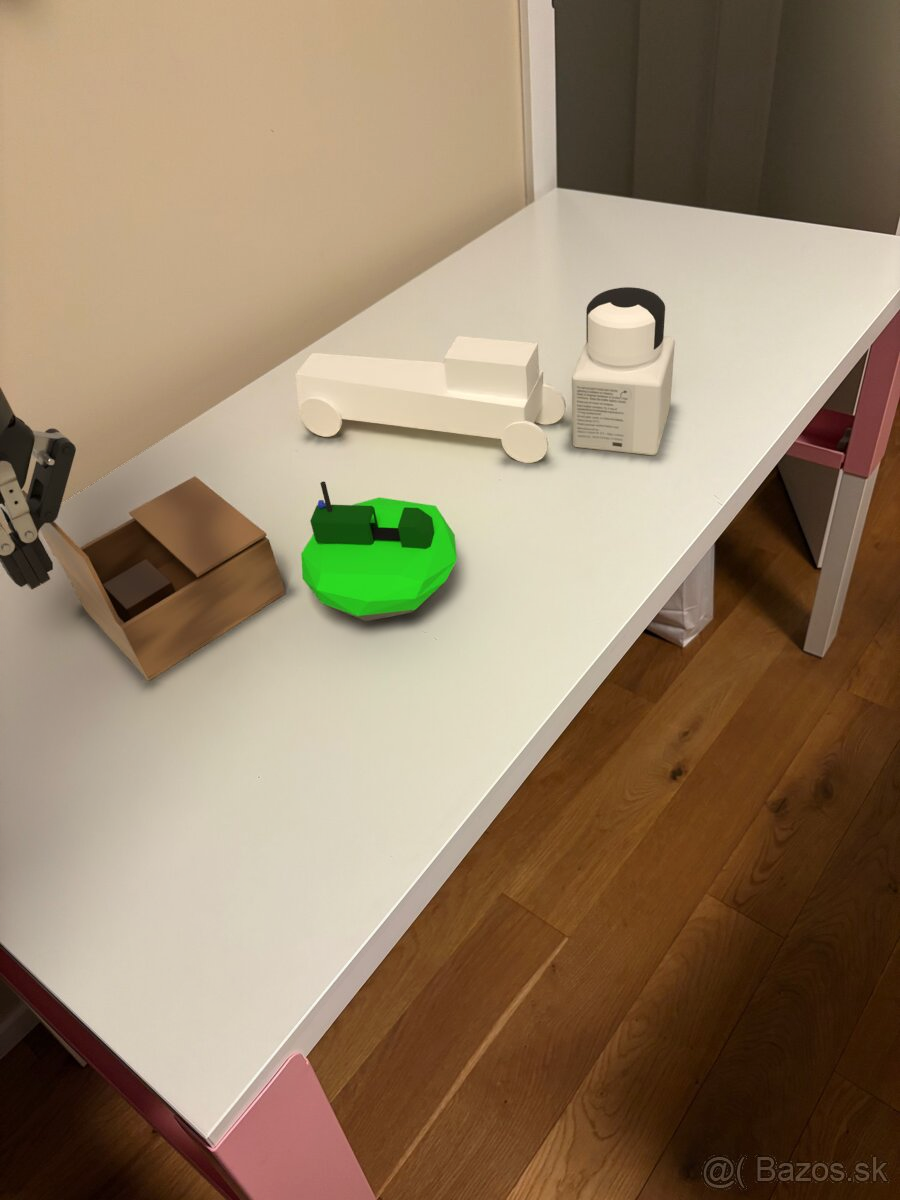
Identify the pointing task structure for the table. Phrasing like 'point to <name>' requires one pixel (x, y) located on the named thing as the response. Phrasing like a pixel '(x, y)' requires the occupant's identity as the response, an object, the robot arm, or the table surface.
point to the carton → (184, 574)
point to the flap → (76, 564)
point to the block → (137, 590)
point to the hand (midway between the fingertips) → (36, 579)
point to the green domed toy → (377, 556)
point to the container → (623, 374)
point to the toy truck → (437, 393)
